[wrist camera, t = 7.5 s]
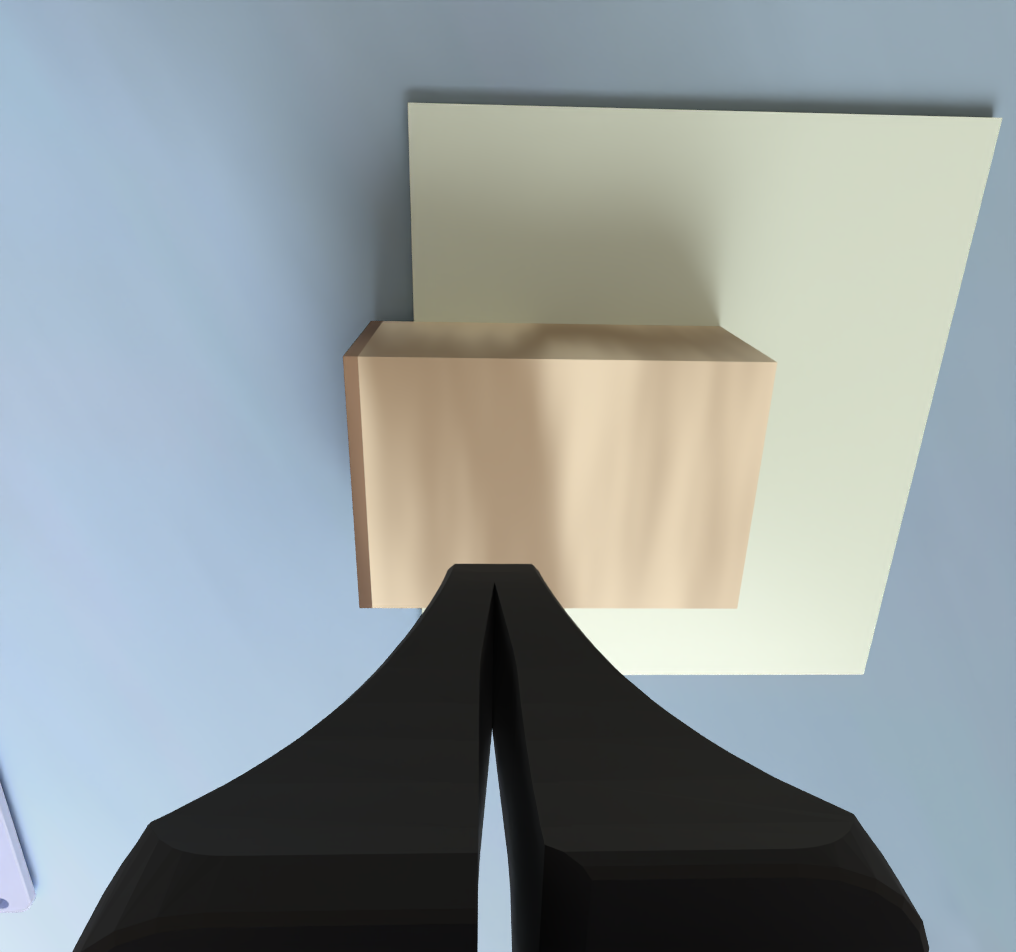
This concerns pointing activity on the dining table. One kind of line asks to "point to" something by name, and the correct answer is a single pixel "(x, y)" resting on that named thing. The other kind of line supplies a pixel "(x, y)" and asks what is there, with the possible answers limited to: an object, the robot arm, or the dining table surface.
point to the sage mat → (730, 317)
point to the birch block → (556, 458)
